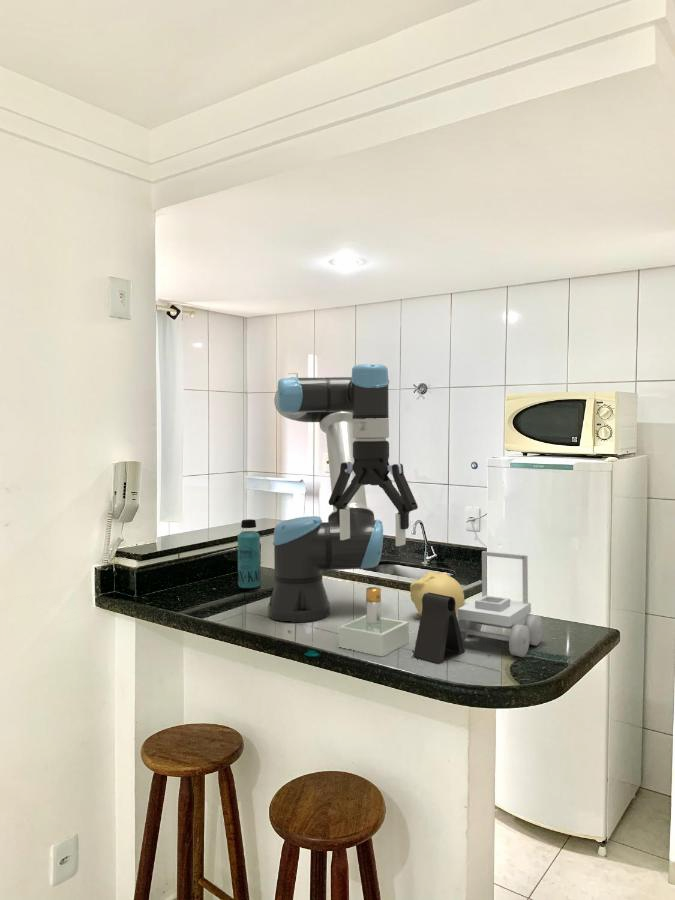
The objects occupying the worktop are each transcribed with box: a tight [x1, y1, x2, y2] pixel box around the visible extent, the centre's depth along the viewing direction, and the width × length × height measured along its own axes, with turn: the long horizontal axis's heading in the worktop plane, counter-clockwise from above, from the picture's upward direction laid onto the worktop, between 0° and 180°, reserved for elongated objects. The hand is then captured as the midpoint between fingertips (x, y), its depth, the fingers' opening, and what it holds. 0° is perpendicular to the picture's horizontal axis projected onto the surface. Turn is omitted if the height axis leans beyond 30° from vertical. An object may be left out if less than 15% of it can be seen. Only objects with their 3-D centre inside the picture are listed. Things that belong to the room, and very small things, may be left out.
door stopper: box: [412, 592, 466, 665], centre depth 138 cm, size 9×6×12 cm, turn 135°
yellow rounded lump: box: [409, 571, 465, 616], centre depth 164 cm, size 11×12×11 cm
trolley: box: [456, 551, 544, 658], centre depth 143 cm, size 15×14×18 cm
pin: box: [365, 586, 382, 633], centre depth 144 cm, size 3×3×11 cm
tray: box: [338, 614, 410, 658], centre depth 145 cm, size 11×11×4 cm
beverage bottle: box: [236, 518, 262, 589], centre depth 194 cm, size 6×7×20 cm
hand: (372, 542), depth 144 cm, fingers open, 13 cm apart
